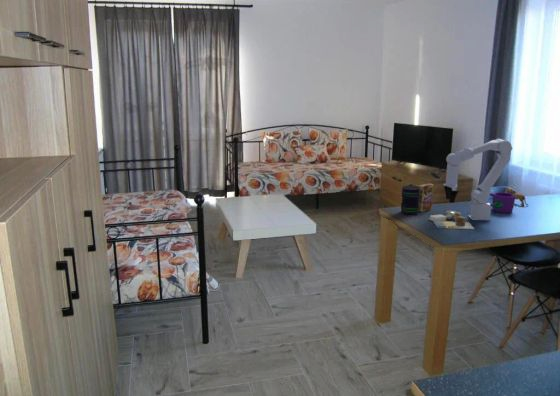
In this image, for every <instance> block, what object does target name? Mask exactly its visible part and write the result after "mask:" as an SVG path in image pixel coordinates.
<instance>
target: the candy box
mask: <svg viewBox="0 0 560 396" xmlns="http://www.w3.org/2000/svg"><path fill="white" fill-rule="evenodd" d="M417 187H420V198H419V211H420V213H422V212H426V211H431V210H432V202H433V194H434V184H433V183H428V182H426V183H424V184H423V183H422V184H417ZM419 211H418V212H419Z"/></svg>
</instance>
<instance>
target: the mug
mask: <svg viewBox="0 0 560 396" xmlns="http://www.w3.org/2000/svg"><path fill="white" fill-rule="evenodd" d="M490 196H491V197H492V203H490V205H491V209H492V210H493V211H494V212H495V213H499V214H510V213H512V212H513V210H514V206H515V202H516V201H515V200H516V199H515V195H514V194H511V193H505V191H504V192H501V191H500V192H498V191H497V192H494V193H492V192H491V194H490V195H489V197H490ZM486 203H489V202H488V201H487V202H486Z"/></svg>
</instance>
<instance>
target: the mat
mask: <svg viewBox="0 0 560 396" xmlns="http://www.w3.org/2000/svg"><path fill="white" fill-rule="evenodd" d="M432 222H433V223H434V225H435V227H436V228H437V229H447V230H448V229H451V230H452V229H453V230H458V229H459V230H475V227H474V226H472V224H471V223H470V222H469V221H465V226H457V225H456V222H455V221H450V220H449V221H447V220H446V221H432Z"/></svg>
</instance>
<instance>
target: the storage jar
mask: <svg viewBox="0 0 560 396" xmlns="http://www.w3.org/2000/svg"><path fill="white" fill-rule="evenodd" d="M419 198H420V187H418V185H417V186H416V185H403V186H402V187H401V203H400V214H401V215H403V214H404V215H403V216H408V215H410V217H412V216H411V215H415V216H418V215H419ZM417 214H418V215H417Z"/></svg>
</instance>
